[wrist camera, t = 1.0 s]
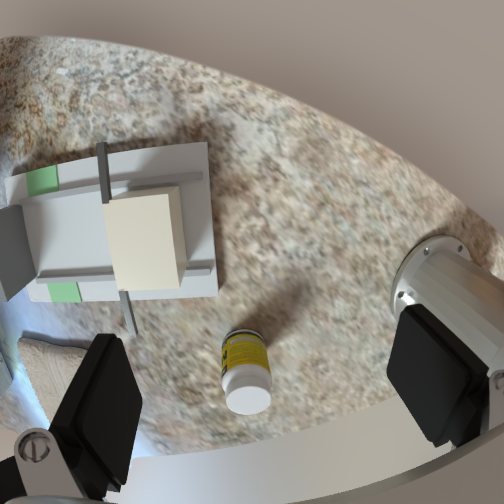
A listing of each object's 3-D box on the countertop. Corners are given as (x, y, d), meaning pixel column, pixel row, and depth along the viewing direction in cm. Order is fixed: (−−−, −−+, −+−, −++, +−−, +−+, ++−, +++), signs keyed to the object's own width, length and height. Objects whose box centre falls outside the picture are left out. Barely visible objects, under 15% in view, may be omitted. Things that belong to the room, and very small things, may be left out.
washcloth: (57, 419, 35) (51, 431, 33) (20, 331, 30) (9, 343, 27) (120, 433, 37) (116, 448, 34) (91, 344, 31) (83, 359, 28)
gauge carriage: (175, 136, 23) (163, 132, 18) (193, 305, 28) (187, 335, 23) (119, 143, 23) (96, 143, 18) (143, 307, 28) (129, 336, 23)
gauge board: (207, 142, 25) (200, 138, 18) (218, 290, 29) (217, 331, 22) (10, 177, 23) (-33, 187, 17) (36, 296, 28) (4, 328, 21)
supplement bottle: (217, 331, 31) (216, 386, 23) (262, 324, 31) (273, 378, 23) (225, 365, 32) (227, 420, 24) (267, 358, 33) (278, 413, 25)
